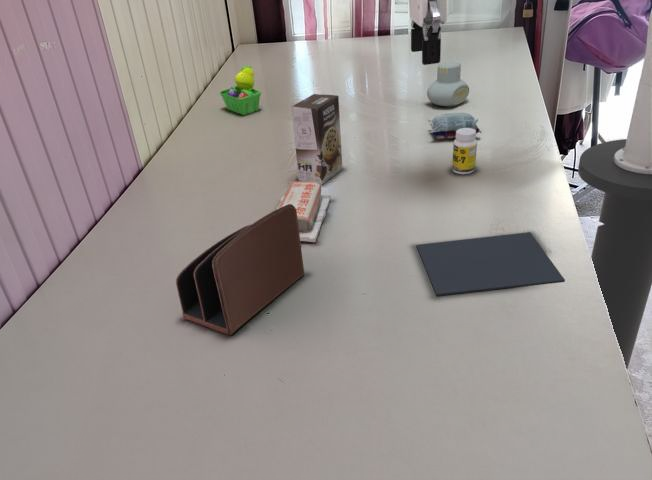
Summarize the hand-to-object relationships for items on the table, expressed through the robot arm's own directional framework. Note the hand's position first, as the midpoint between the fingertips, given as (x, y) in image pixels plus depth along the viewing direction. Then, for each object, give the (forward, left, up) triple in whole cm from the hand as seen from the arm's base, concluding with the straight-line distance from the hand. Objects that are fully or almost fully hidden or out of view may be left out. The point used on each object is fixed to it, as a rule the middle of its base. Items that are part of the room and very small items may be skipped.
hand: (425, 57), depth 118 cm
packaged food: (-12, -24, -25) cm, 36 cm away
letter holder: (+37, +37, -25) cm, 58 cm away
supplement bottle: (-9, -3, -25) cm, 26 cm away
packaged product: (+27, +12, -25) cm, 38 cm away
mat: (-3, +35, -24) cm, 43 cm away
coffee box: (+21, -9, -25) cm, 33 cm away
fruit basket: (+39, -62, -25) cm, 77 cm away
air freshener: (-16, -47, -25) cm, 55 cm away
